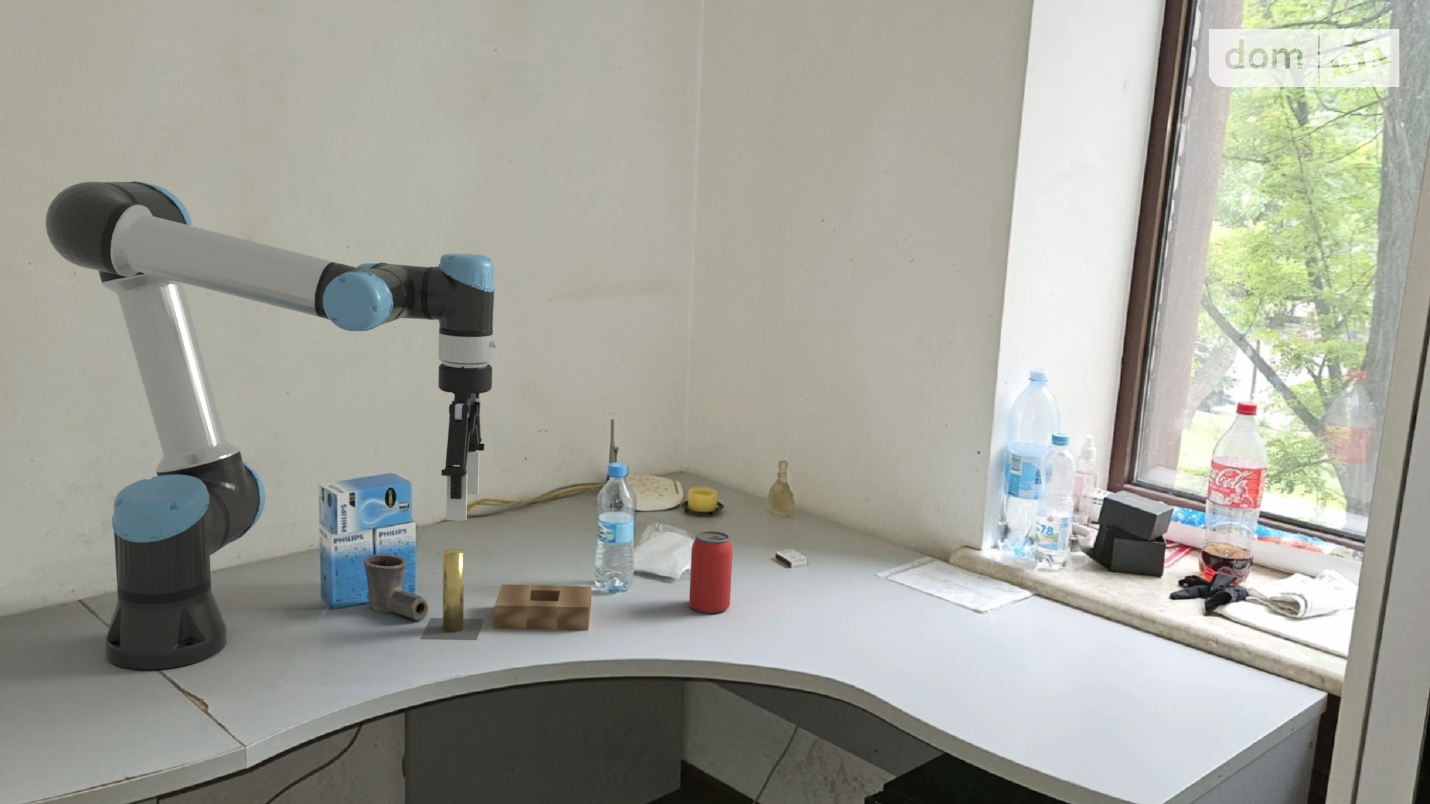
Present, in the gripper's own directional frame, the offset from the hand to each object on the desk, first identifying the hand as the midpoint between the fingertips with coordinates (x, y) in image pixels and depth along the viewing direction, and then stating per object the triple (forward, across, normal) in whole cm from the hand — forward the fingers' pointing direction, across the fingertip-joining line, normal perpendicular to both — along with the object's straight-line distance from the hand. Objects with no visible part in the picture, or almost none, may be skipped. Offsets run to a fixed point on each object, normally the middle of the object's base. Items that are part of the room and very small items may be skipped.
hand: (463, 506), depth 165 cm
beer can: (+19, +10, -38) cm, 44 cm away
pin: (+19, -1, +1) cm, 19 cm away
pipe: (+19, +6, +11) cm, 23 cm away
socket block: (+19, +4, -12) cm, 23 cm away
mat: (+19, -1, +1) cm, 19 cm away
